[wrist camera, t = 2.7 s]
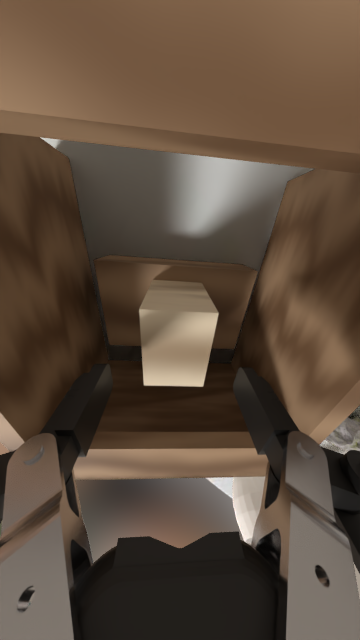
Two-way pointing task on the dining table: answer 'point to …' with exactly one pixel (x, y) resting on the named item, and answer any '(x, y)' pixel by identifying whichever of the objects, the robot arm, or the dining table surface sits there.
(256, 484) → the cup
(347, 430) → the rock
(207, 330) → the block
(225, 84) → the access box
